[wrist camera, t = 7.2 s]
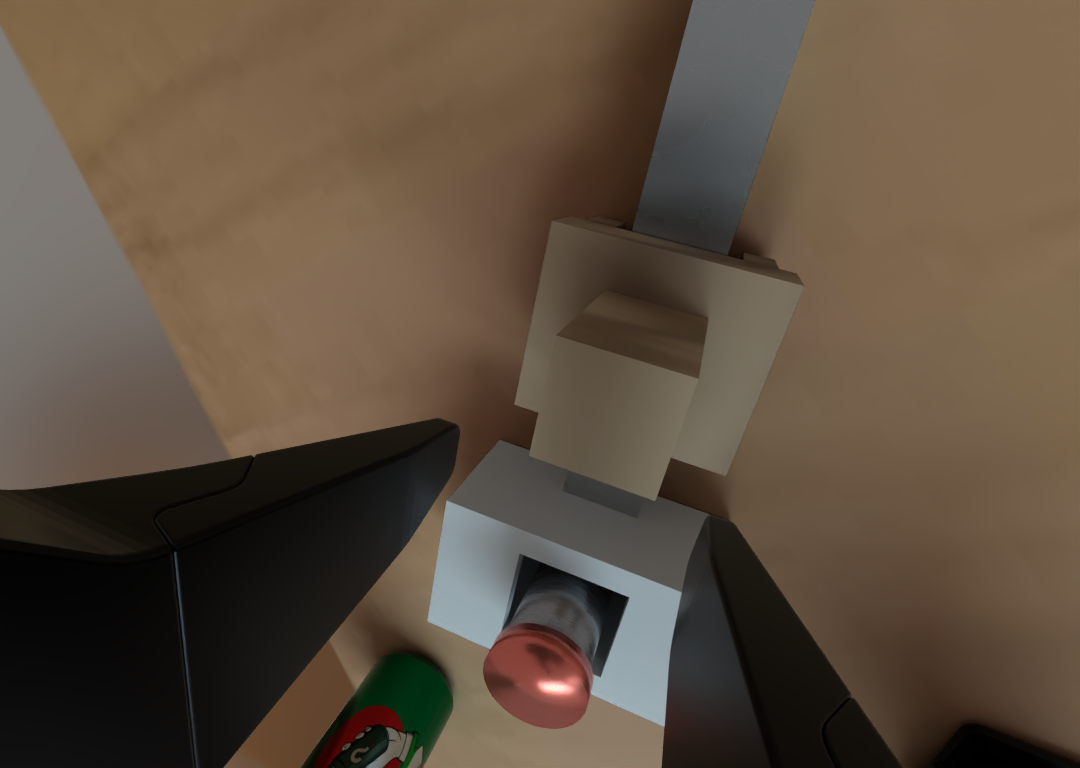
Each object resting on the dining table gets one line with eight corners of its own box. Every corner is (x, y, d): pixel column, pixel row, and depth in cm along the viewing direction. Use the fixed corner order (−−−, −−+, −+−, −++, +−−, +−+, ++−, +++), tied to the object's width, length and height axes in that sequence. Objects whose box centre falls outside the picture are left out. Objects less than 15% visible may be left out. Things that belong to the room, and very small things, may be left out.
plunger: (628, 563, 20) (599, 672, 16) (605, 627, 22) (573, 744, 17) (543, 530, 21) (492, 625, 17) (526, 595, 22) (475, 699, 18)
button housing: (730, 521, 22) (729, 610, 17) (684, 628, 24) (673, 730, 20) (499, 439, 24) (446, 500, 19) (478, 545, 26) (427, 621, 22)
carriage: (790, 263, 18) (836, 337, 10) (727, 424, 20) (723, 586, 12) (584, 212, 19) (479, 239, 11) (549, 367, 22) (443, 479, 14)
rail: (893, -237, 13) (917, -299, 12) (644, 491, 22) (637, 518, 21) (768, -245, 14) (774, -305, 12) (575, 466, 23) (562, 491, 21)
